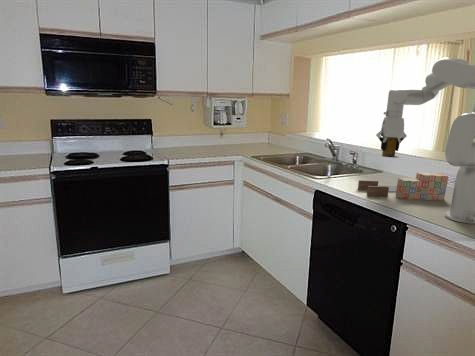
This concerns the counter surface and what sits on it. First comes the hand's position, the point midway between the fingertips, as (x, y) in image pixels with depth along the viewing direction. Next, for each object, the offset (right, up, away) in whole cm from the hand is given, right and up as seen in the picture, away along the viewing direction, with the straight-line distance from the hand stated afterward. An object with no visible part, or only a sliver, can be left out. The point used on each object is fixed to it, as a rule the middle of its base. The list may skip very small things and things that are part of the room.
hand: (389, 150), depth 181 cm
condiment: (+1, -3, +1) cm, 4 cm away
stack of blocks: (+12, -24, -6) cm, 28 cm away
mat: (+5, -20, +8) cm, 22 cm away
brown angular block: (-9, -22, -1) cm, 24 cm away
